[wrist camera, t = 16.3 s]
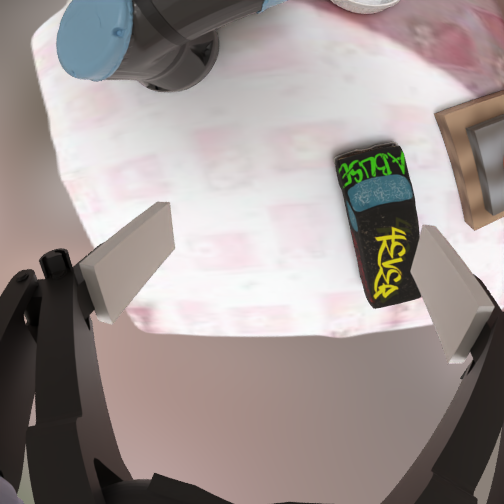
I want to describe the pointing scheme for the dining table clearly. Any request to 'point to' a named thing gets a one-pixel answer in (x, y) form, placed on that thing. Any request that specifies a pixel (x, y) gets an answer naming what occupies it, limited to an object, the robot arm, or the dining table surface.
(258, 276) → the dining table surface
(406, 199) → the toy van
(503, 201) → the two-tone square platform
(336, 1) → the ramekin
